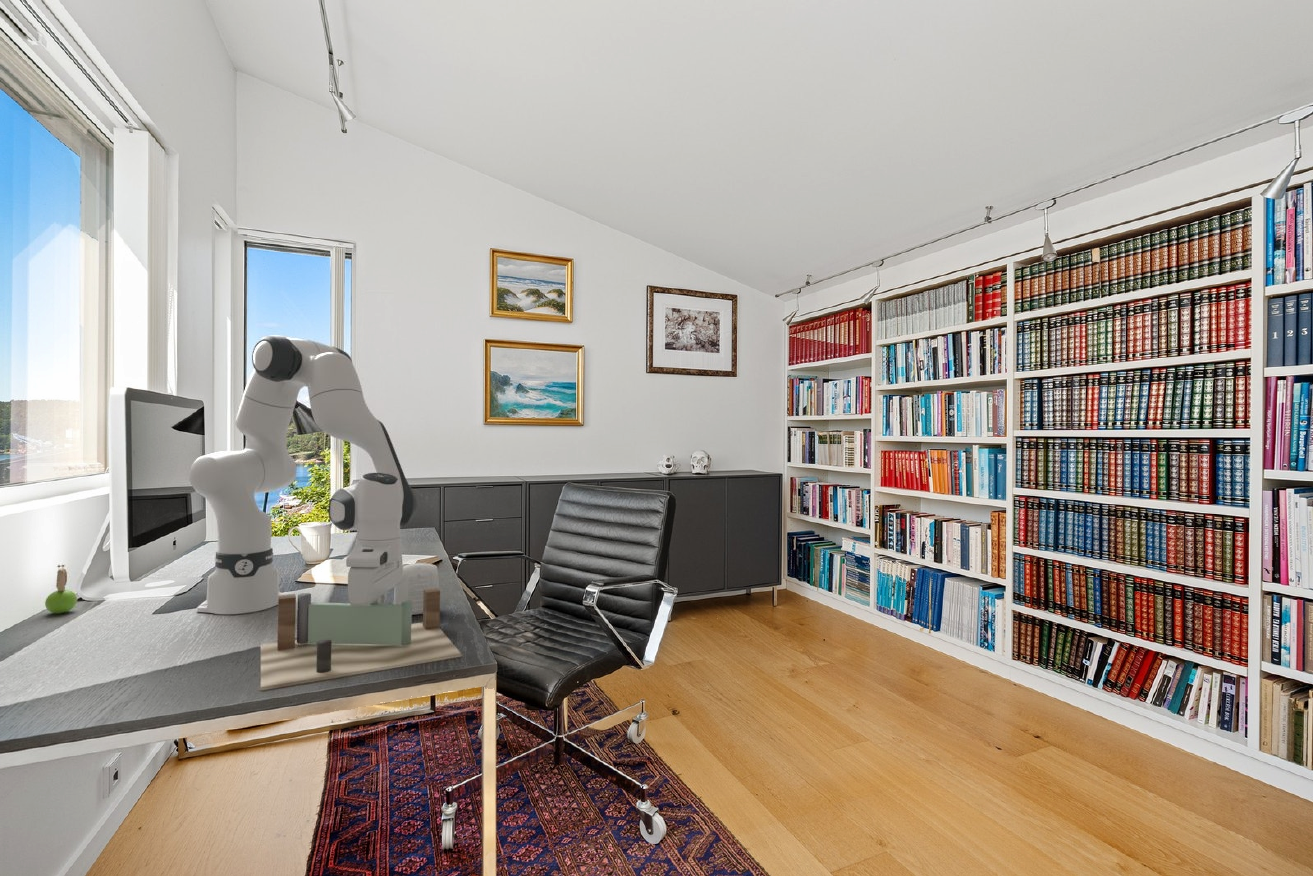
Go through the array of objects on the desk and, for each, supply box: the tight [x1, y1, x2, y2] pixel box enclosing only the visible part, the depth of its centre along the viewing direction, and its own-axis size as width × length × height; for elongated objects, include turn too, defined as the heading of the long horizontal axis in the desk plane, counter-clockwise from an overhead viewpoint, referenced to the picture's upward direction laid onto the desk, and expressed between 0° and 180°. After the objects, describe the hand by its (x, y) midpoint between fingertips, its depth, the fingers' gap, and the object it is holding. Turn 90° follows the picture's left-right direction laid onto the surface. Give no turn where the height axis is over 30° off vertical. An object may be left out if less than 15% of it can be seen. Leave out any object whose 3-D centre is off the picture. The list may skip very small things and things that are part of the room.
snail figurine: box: [44, 564, 78, 614], centre depth 146 cm, size 5×6×12 cm
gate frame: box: [260, 587, 462, 691], centre depth 128 cm, size 24×34×11 cm
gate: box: [296, 592, 413, 645], centre depth 130 cm, size 23×2×10 cm, turn 92°
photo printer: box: [393, 562, 439, 616], centre depth 155 cm, size 10×4×12 cm, turn 123°
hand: (377, 615), depth 132 cm, fingers closed
